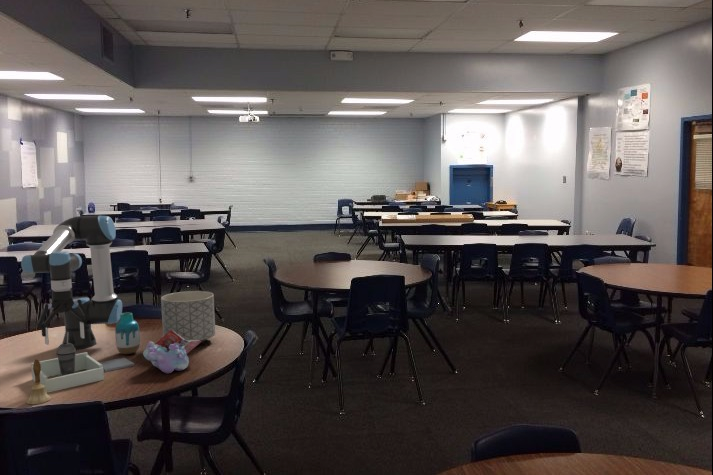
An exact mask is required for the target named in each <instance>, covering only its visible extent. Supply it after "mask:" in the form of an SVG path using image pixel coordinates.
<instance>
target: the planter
mask: <svg viewBox="0 0 713 475" xmlns="http://www.w3.org/2000/svg"><path fill="white" fill-rule="evenodd" d="M160 302H161V321H162V337H164V336H165V335H166V334H167V333H168V332H169V331H170V330H172V331H174V332H176V333H177V334H178V335H180V336H181V337H183V338H184V339H185V341H186V340H199V341H202V342H200V343H199V344H198V345H200V344H203V343H204V342H205V341H207V340H208V339H210V338H212V337H213V336H216V320H215V319H216V317H215V316H216V315H215V296H214V293H213V292H211V291H203V290H195V291H194V290H189V291H186V290H185V291H179V292H172V293H168V294H165V295H162V296H161V298H160Z"/></svg>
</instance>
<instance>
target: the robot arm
mask: <svg viewBox="0 0 713 475" xmlns="http://www.w3.org/2000/svg"><path fill="white" fill-rule="evenodd" d="M116 232H117V231H116V225H115V223H114V221H113V219H112V217H110V216H108V215H100V214H99V215H84V216H83V215H79V216H78V215H77V216H74V217H73V216H72V217H71V218H70V217H69V218H68V219H66V220H64V221H62V222H61V223H59V224H58V225H57V226H56V227H54V229H53V232H52V234H51V235H50V236H49V238H48V239H47V240H46V241H45V242H44V243H43V244H42V245H41V246H40V247H39V248H38V250H36V251H35V252H34V254H27V255H23V256H22V259H21V262H20V265H21V269H22V271H23V272H24V273H26V274H27V273H28V274H37V273H38V274H39V273H50V287H51V288H50V289H51V290H52V291H51V303H47V302H44V303H43V305H42V306H43V307H42V308H43V309H42V310H41V313H40V315H39V318H38V320H37V322H36V324H35V327H36V328H38V329H41V336H42V338H43V337H44V344H45V345H46V346H48V345H50V339H49V338H50V337H49V328H48V326H49V325H50V323H51V322H52V320H53V319H54V317H55V316H56V315H57V314H62V313H63V317H64V318H63V319H64V328H65V329H64V332H65V333H64V336H63V340H62V342H61V344H63V343H67V332H69V333H68V343H71V344H72V345H73V346H74V347H75V350H82V349H87V348H91V347H93V346H95V345H96V344H97V339H96V336H95V334H94V332H93V330H92V325H110V324H117V323H118V322H120V314H122V313H123V302H122V300H121V299H118V295H117V294H116V293H115V291H114V281H113V272H112V261H111V250H110V249H111V248H110V246H111V245H112V243H113V240H115V239H116V235H117V234H116ZM77 241H85V244H86V246H87V247H89V249H90V257H91V258H90V259H91V268H92V279H93V280H92V281H93V289H94V296H92V298H91V300H90V297H79V298H74V299H73V289H72V288H73V284H72V272H75V271H77V270H78V269H80V268H81V266H82V264H83V260H82V257H81V256H80V255H79V254H78V253H75V252H68V251H66V250H65V251H63V249H65V247H66V246H67V245H70V244H71V243H73V242H77ZM51 308H52V310H51V312H50V314H49V315H48V317H46V316H47V313H48V312H49V310H50V309H51ZM45 318H46V319H45Z"/></svg>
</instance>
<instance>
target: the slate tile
mask: <svg viewBox="0 0 713 475" xmlns="http://www.w3.org/2000/svg"><path fill="white" fill-rule="evenodd" d="M99 363H100V364H102V367H103V370H104V372H113V371H117V370H121V369H124V368H125V369H126V368H130V367H134V366H135V363H134V362H132V361H131V360H129V359H128V358H126V357H119V358H115V359H109V360H106V361H101V362H99Z"/></svg>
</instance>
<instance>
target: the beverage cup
mask: <svg viewBox="0 0 713 475" xmlns="http://www.w3.org/2000/svg"><path fill="white" fill-rule="evenodd" d="M68 333H69V332H67V343H63V344H62V343H61V344H60V345H59V346H58V347H57V350H56V356H57V357H56V358H58V360H59V366H60V372H61V374H60V376H64V375H69V374H73V373H76V371H75V354H77V353H76V352H77V349H75V347H74V346H73V345H72V344H71V343H68Z"/></svg>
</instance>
